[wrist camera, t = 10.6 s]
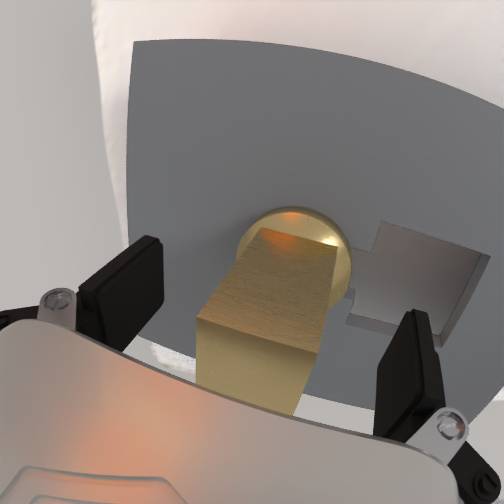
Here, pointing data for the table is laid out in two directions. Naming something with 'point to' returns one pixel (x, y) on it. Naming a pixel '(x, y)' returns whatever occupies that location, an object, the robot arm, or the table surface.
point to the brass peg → (273, 308)
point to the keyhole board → (316, 189)
